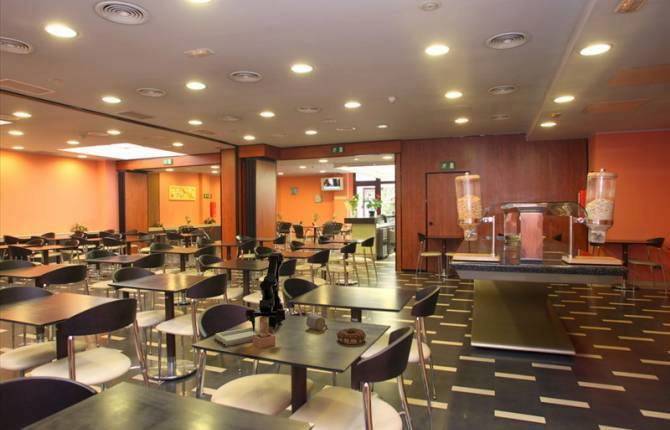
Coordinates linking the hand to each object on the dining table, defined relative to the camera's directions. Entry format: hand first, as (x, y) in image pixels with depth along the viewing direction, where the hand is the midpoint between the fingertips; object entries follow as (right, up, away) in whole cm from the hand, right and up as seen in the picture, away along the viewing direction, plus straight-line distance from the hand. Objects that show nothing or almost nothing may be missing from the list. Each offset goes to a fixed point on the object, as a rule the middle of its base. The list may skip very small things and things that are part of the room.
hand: (263, 330), depth 194 cm
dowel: (0, -7, +1) cm, 7 cm away
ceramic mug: (+24, -7, +28) cm, 37 cm away
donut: (+41, -7, +8) cm, 42 cm away
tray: (-13, -6, +10) cm, 17 cm away
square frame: (0, -7, +1) cm, 7 cm away
